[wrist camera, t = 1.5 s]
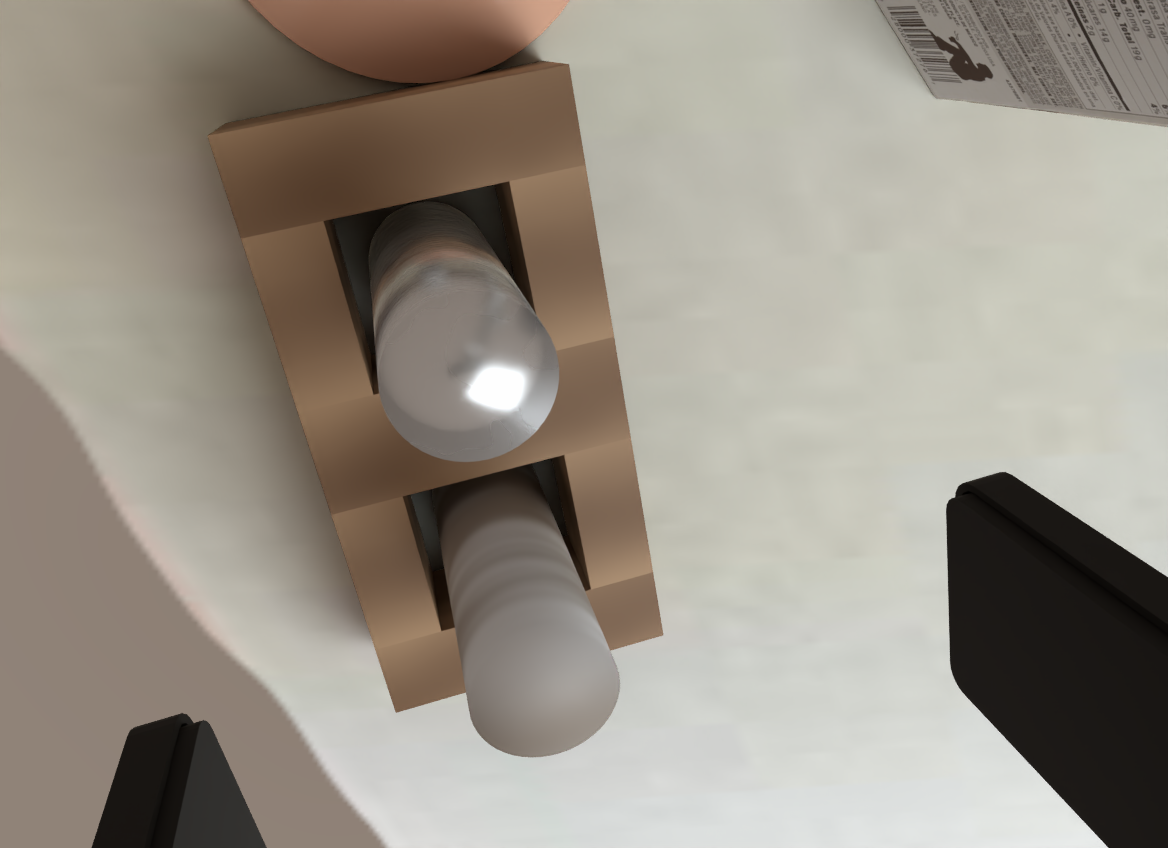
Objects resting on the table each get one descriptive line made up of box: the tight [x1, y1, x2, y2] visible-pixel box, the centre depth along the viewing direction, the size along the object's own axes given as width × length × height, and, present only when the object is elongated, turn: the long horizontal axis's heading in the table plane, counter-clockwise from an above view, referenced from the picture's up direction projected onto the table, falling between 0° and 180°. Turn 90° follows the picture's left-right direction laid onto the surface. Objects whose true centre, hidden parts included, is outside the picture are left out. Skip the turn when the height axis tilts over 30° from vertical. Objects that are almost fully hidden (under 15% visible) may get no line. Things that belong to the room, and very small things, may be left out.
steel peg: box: [368, 201, 559, 462], centre depth 26 cm, size 4×4×12 cm
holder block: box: [208, 61, 663, 757], centre depth 28 cm, size 20×10×12 cm, turn 10°
